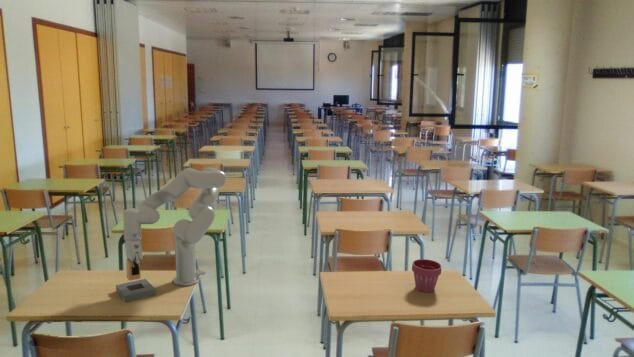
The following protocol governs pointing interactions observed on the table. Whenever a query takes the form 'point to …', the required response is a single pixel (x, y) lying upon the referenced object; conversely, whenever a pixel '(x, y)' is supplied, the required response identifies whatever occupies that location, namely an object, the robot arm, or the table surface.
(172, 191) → the robot arm
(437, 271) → the plant pot
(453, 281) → the table surface
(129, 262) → the plug
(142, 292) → the socket plate
